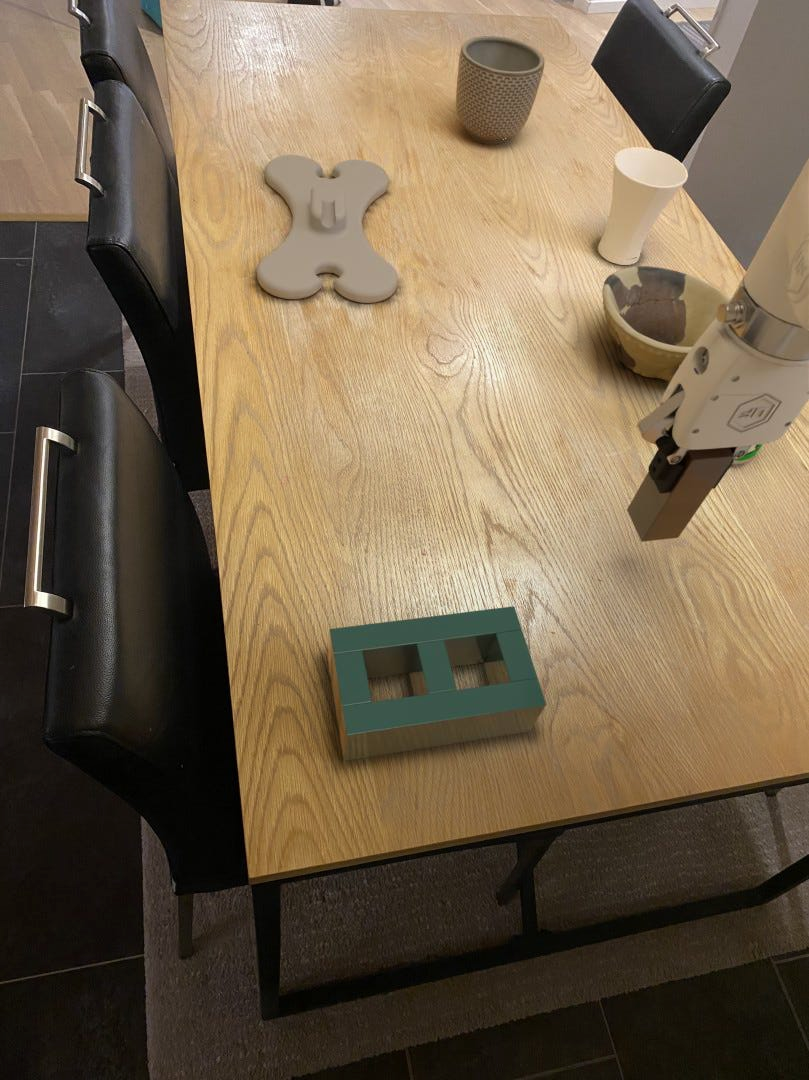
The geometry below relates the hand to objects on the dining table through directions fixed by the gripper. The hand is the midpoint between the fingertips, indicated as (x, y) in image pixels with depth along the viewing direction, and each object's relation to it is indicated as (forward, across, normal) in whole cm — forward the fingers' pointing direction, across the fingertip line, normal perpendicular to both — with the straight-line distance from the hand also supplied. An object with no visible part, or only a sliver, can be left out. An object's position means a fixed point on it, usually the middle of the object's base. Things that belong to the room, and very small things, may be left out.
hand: (681, 477), depth 69 cm
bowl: (+15, +15, +31) cm, 38 cm away
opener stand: (+15, -24, -11) cm, 31 cm away
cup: (+15, +20, +55) cm, 61 cm away
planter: (+15, +9, +90) cm, 92 cm away
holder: (+15, -23, +63) cm, 69 cm away
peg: (+7, 0, 0) cm, 7 cm away
